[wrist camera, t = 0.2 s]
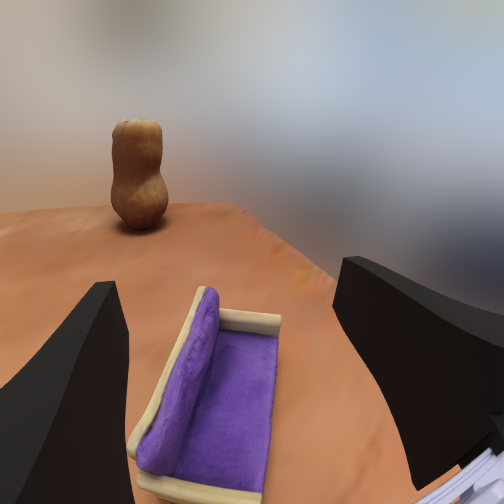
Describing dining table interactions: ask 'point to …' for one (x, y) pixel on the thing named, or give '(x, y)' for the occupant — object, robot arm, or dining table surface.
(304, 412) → the dining table surface
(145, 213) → the butternut squash
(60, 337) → the robot arm
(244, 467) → the toy sofa
